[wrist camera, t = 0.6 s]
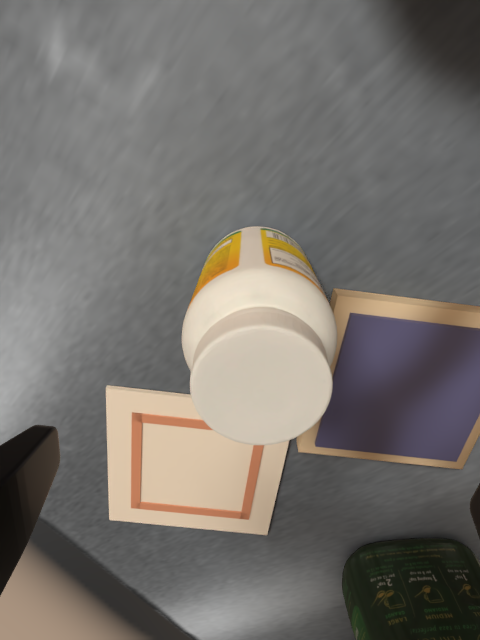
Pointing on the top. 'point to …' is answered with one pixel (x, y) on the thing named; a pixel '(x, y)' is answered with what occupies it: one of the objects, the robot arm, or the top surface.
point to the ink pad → (401, 381)
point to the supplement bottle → (259, 339)
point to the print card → (185, 466)
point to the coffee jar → (413, 591)
